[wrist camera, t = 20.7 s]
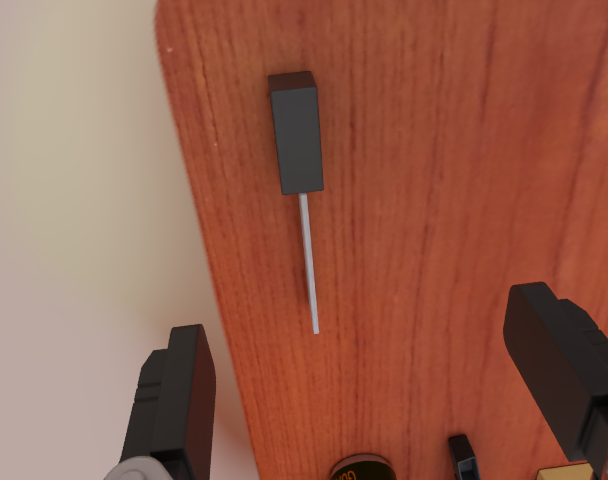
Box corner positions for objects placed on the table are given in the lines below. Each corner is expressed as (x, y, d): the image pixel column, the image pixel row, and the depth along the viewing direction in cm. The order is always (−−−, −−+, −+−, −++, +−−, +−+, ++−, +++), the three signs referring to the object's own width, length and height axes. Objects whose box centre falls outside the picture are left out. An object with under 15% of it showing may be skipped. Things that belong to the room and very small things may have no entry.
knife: (267, 75, 24) (269, 93, 22) (310, 70, 24) (317, 87, 22) (295, 306, 32) (299, 336, 30) (327, 302, 32) (333, 331, 30)
